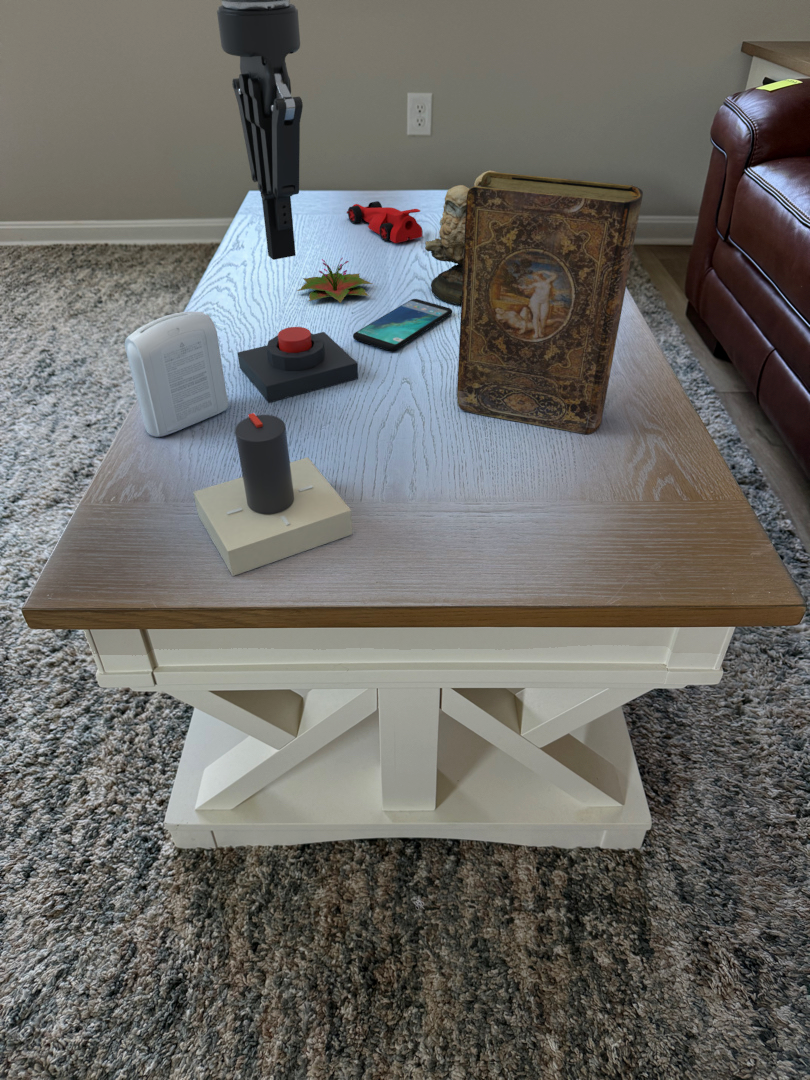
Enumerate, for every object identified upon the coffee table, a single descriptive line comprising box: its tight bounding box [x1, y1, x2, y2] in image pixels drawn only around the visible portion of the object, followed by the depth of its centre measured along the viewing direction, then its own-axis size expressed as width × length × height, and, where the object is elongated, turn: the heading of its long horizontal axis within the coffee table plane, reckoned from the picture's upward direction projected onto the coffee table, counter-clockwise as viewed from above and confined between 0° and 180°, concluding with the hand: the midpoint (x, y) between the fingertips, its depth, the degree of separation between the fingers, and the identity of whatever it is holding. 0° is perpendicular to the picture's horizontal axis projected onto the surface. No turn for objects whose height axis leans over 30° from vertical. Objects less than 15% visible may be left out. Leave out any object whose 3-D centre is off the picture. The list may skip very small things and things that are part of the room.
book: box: [456, 171, 644, 435], centre depth 84 cm, size 16×6×25 cm, turn 70°
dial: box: [234, 412, 294, 514], centre depth 71 cm, size 4×4×8 cm
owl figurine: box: [424, 169, 496, 306], centre depth 112 cm, size 18×12×17 cm, turn 82°
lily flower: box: [296, 257, 374, 304], centre depth 117 cm, size 12×12×5 cm
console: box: [192, 456, 353, 577], centre depth 75 cm, size 12×10×3 cm
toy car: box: [346, 200, 423, 244], centre depth 138 cm, size 6×18×5 cm, turn 33°
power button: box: [277, 326, 312, 353], centre depth 96 cm, size 4×4×2 cm
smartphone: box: [352, 298, 453, 352], centre depth 109 cm, size 7×1×15 cm
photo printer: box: [124, 310, 229, 438], centre depth 87 cm, size 10×4×12 cm, turn 134°
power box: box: [236, 331, 359, 403], centre depth 98 cm, size 12×10×4 cm
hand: (281, 255), depth 88 cm, fingers closed
